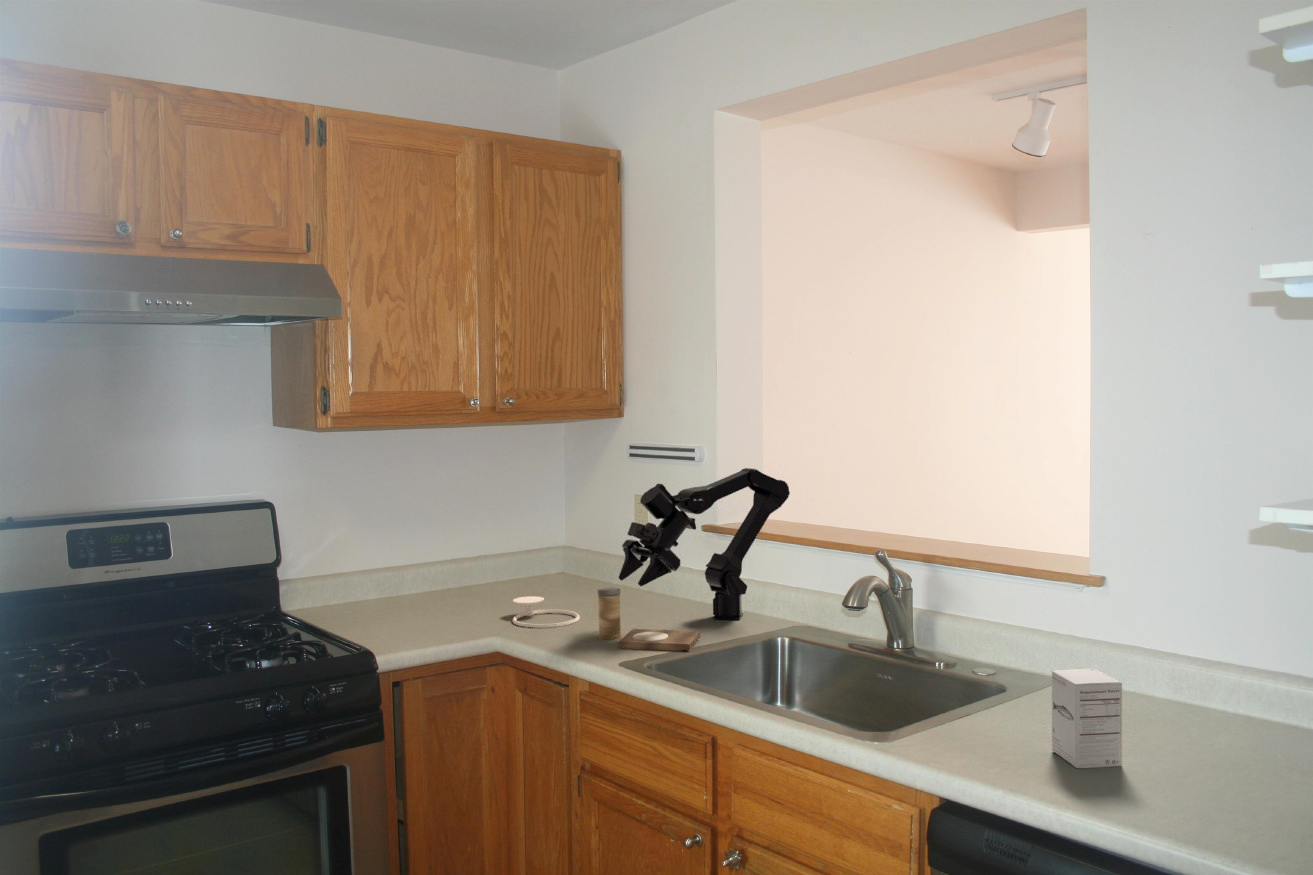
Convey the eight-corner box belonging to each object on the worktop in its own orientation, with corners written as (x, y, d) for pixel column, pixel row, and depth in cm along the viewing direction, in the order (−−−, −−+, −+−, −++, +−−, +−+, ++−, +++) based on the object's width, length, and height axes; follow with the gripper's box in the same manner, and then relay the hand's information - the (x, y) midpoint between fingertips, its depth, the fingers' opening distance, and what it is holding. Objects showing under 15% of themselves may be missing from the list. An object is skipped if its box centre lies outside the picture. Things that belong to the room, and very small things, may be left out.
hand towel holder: (535, 615, 234) (491, 602, 250) (536, 633, 234) (492, 619, 250) (593, 603, 245) (547, 592, 260) (593, 621, 245) (547, 608, 261)
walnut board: (700, 637, 225) (700, 630, 224) (689, 650, 213) (689, 643, 213) (632, 635, 228) (632, 627, 228) (619, 647, 217) (618, 640, 217)
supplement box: (1050, 751, 149) (1049, 669, 149) (1096, 748, 150) (1096, 667, 149) (1075, 769, 142) (1074, 683, 141) (1123, 766, 142) (1123, 681, 142)
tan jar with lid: (623, 634, 229) (622, 587, 229) (617, 639, 224) (616, 592, 224) (602, 633, 231) (601, 587, 230) (596, 638, 226) (594, 591, 225)
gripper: (628, 506, 240) (589, 555, 235) (668, 513, 224) (627, 565, 219) (656, 535, 244) (618, 584, 239) (697, 544, 229) (658, 596, 223)
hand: (629, 582), depth 230 cm, fingers open, 9 cm apart
